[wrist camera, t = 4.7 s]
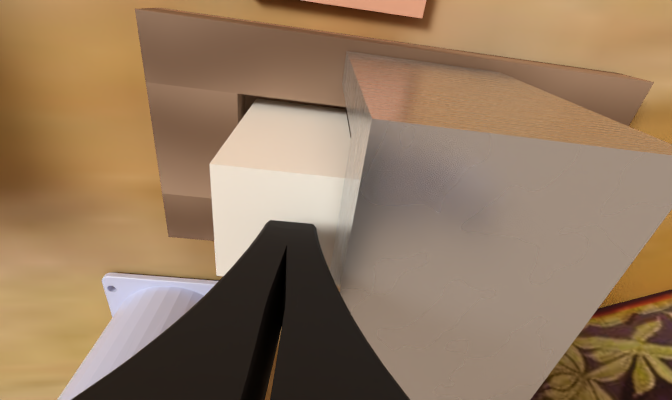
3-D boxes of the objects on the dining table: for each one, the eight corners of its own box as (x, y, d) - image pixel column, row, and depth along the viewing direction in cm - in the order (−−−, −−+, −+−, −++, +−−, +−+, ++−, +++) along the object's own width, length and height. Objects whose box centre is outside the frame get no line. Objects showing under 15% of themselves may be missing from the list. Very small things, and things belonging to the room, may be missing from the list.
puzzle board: (526, 247, 20) (545, 269, 19) (183, 214, 19) (168, 236, 17) (617, 73, 15) (653, 82, 14) (159, 7, 14) (134, 8, 12)
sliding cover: (434, 255, 18) (507, 430, 11) (320, 245, 17) (315, 421, 10) (499, 72, 13) (708, 159, 6) (346, 51, 13) (372, 118, 5)
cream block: (334, 186, 17) (338, 285, 11) (255, 178, 17) (216, 275, 11) (345, 109, 15) (357, 179, 9) (256, 98, 15) (209, 163, 9)
